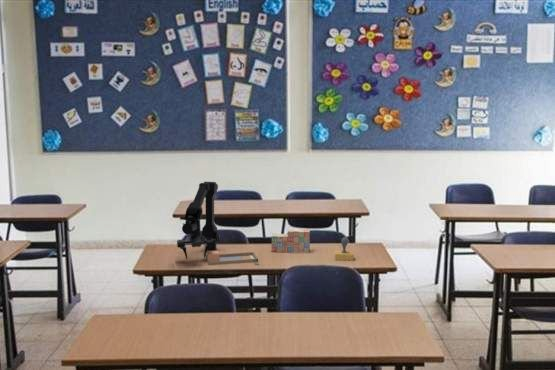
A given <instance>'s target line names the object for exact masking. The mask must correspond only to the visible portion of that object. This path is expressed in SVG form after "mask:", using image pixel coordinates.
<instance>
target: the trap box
mask: <svg viewBox="0 0 555 370" xmlns="http://www.w3.org/2000/svg"><path fill="white" fill-rule="evenodd" d="M219 255H220V261H210V262H208V260H207V254H206V256H205V259H206V262H207V265H208V266H215V265H230V264H231V265H232V264H244V263H245V264H246V263H254V265H255V266H257V265H259V258H258V257H257V255H256V253H255V252H254V251H250V252H249V251H248V252H236V253H235V252H233V253H221V254H220V253H219ZM246 256H249V257H250V258H246V259H245V258H244V259H243V257H246Z"/></svg>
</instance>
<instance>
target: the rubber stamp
mask: <svg viewBox="0 0 555 370" xmlns="http://www.w3.org/2000/svg"><path fill="white" fill-rule="evenodd" d="M348 240H349V239H347V237H342V238H341V242H340V243H341V246H342V250H335V251H334V261H347V260H354V261H355V255H354V254H355V253H354V251H351V250H349V251H348V250H346V247H347V245H348V242H349V241H348Z"/></svg>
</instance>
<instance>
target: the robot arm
mask: <svg viewBox="0 0 555 370" xmlns="http://www.w3.org/2000/svg"><path fill="white" fill-rule="evenodd" d="M218 190H219V185H218V183H217V182H215V181H203V182H200V183H199V184H198V189H197V191H196V194H195V196H194V199H193V201H191V202H190V203H189V204H188V206H187V208H186V211H185V215H184V219H183V220H184V221H185V223H184V224H183V225H182V228H181V230H182V232H183V234H185V235H189V240H187V241H186V240H185V239H183V238H182V239H177V240H176V246H177V247H176V248H178V249H180V250H182V251H183V254H184V256H185V258H186V260H188V254H187V253H188V252H187V247H186V246H188V245H190V246H191V247H192V248H196V247H197V248H200V247H201V246H202V245H204V247H203V249H204V250H203V258H204V259H206V255H207V252H208V251H216V250H217V249H218V248H217V242H220V239H221V235H220V234H219V232H218V227H217V225H216V224H215V196H216V195H217V193H218ZM204 201H205V224H204V225H203V227H201V219H202V215H203V213H204V212H203V207H202V206H203V203H204ZM201 228H202V230H201Z"/></svg>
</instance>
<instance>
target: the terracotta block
mask: <svg viewBox="0 0 555 370" xmlns="http://www.w3.org/2000/svg"><path fill="white" fill-rule="evenodd" d="M219 254H220V252H219V250H213V251H210V250H208V251H207V253H206V255H207V260H208V262H210V261H220V255H219ZM207 260H206V261H207ZM208 262H207V263H208Z"/></svg>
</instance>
